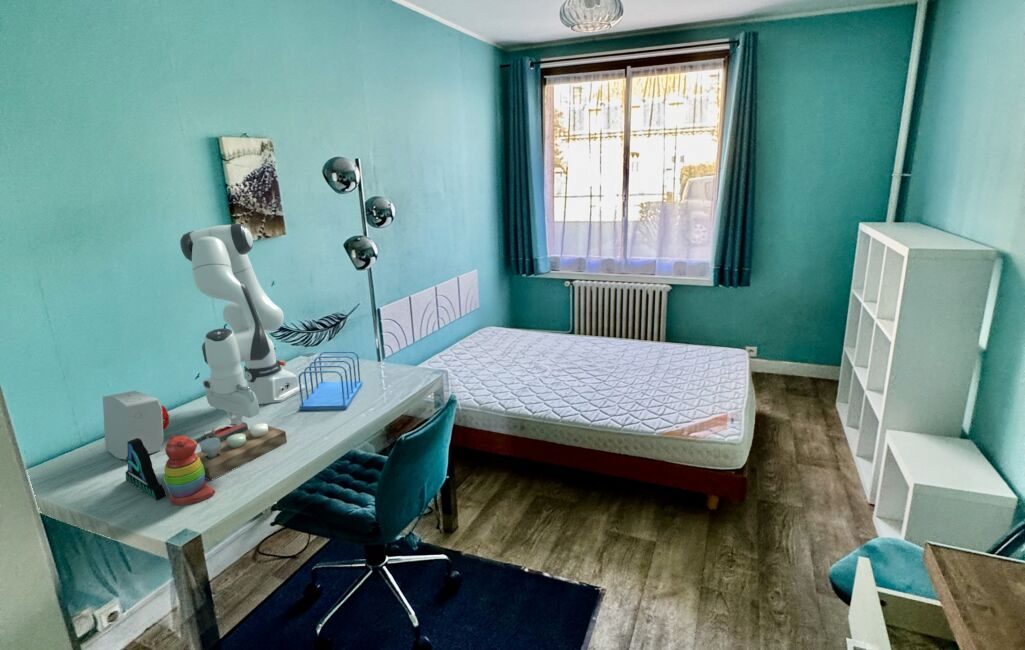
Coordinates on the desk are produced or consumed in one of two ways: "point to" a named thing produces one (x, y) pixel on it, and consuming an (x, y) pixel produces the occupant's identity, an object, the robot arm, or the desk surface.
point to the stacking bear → (185, 472)
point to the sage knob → (236, 440)
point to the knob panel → (241, 452)
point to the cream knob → (259, 430)
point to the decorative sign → (142, 470)
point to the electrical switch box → (133, 422)
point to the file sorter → (330, 387)
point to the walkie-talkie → (224, 431)
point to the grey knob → (210, 447)
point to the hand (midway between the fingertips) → (237, 423)
